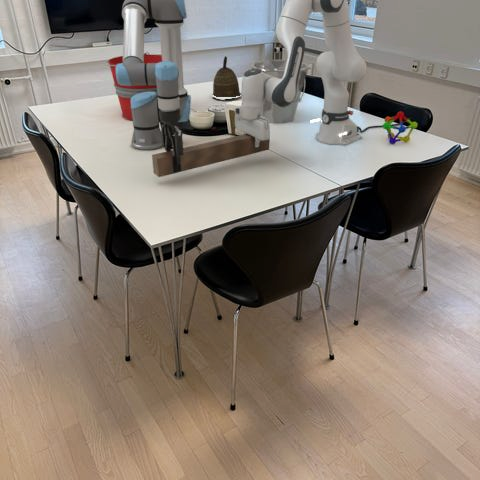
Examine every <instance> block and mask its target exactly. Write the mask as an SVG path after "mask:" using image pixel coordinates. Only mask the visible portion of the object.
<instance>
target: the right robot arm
mask: <svg viewBox="0 0 480 480" xmlns="http://www.w3.org/2000/svg"><path fill="white" fill-rule="evenodd" d="M312 13H321V15H322V28H323V36H324V37H323V38H324V43H325V45H326V47H327V48H328V49H329V51H323V52H321V53H320V54H319V55H318V56H317V59H316V61H315V68H316V72H317V73H318V74H319V76H320V77H321V80H322V81H321V82H322V84H323V91H324V96H323V108H322V110H321V118H315V119H312V120H311V119H310V123H315V122H320V124H319V129H318V131H317V136H316V139H317V141H319V142H321V143H323V144H329V145H342V146H347V145H350V144H351V143H353V142H355V141H358V140H360V139H362V134H360V133H364V132H366V131H367V130H370V129H376V128H383V124H382V125H381V124H380V125H370V126H367V127H365V128H364V129H363V130H362V128H361V127H360V126H359V125H357V124H356V123H355V122H354V121H353V120H352V119H350V116H353V115H354V111H353V110H350V109H349V100H350V92H349V91H348V89H347V87H345V84H344V83H358V82H360V81H362V79H363V78H364V77H365V75H366V73H367V62H366V61H365V60H364V59H363V58H362V57H361V55H360V54H359V52H358V50H357V48H356V46H355V44H354V41H353V37H352V36H353V35H352V28H351V27H352V26H351V14H350V7H349V3H348V0H286V1H285V3H284V5H283V8H282V10H281V12H280V15H279V18H278V21H277V25H276V30H275V35H276V38H277V40H278V42H279V43H280V44H281V45H282V46H283V47H284V48H285V50H286V53H287V57H286V58H287V59H286V60H287V62H286V67H285V71H284V75H283V78H282V79H280V78H277V77H274V76H270V75H267V74H265V73H264V72H262V70H260V69H252V68H251V69H248V70H246V71H245V72H244V73H243V75H242V78H241V97H242V101H241V105H240V106H237V107H235V108H234V127H235V129H236V130H238V131H240V132H243V134H249V135H251V136H253V137H255V140H256V141H255V142H254V147H259V142H260V140H262V141H265V140H268V139H269V138H270V139H271V128H270V122H268V120H267V118H266V117H263V102H264V101H266V100H267V101H269V102H272V103H274V104H276V105H278V106H280V107H287V106H289V105H290V104H291V103H292V102H293V101H294V99H295V97H296V93H297V82H298V78H299V73H300V69H301V65H302V62H303V60H304V56H305V51H306V42H305V33H306V29H307V26H308V23H309V19H310V16H311V14H312ZM348 109H349V110H348ZM411 118H412V117H409V118H407V119H408V120H410V121H414V118H412V119H411ZM402 123H403V124H405V123H408V122H407V121H406V120H404V121H403V120H402ZM390 126H394V127H398V126H400V122H398V123H391V124H390ZM359 132H360V133H359ZM243 134H242V135H243Z"/></svg>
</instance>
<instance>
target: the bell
mask: <svg viewBox="0 0 480 480" xmlns="http://www.w3.org/2000/svg"><path fill="white" fill-rule="evenodd" d="M227 63H228V57H227V56H224V58H223V63H222V67H221V68H219V69H218V70H217V71H216V73H215V75H214V78H213V81H212V83H213V84H212V95H214V96H216V97H236V96H240V95H241V96H242V92H240V83H239V80H238V79H239V78H238V77H237V75H236V73H235V72H234V70H232V69H231V68H230V67H227Z"/></svg>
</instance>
